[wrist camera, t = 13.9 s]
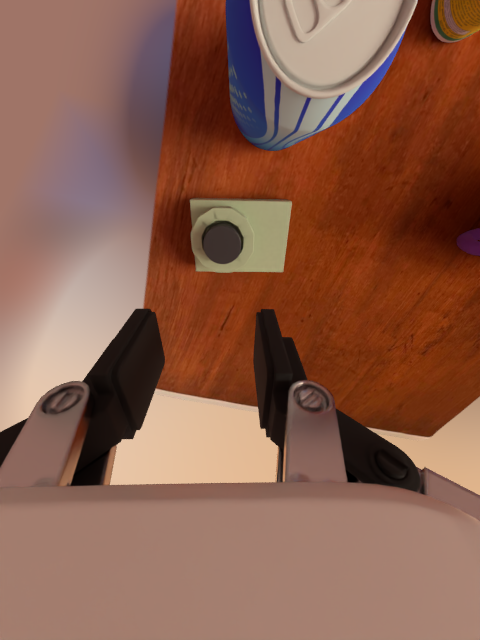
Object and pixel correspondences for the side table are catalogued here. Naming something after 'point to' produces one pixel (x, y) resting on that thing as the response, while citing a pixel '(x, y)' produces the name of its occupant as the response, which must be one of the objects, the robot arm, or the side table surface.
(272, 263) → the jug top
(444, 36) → the supplement bottle
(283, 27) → the beer can
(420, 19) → the side table surface
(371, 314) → the side table surface
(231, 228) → the lid button
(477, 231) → the mug
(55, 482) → the robot arm
